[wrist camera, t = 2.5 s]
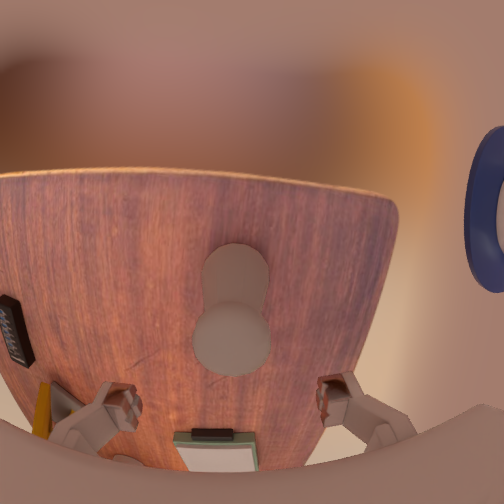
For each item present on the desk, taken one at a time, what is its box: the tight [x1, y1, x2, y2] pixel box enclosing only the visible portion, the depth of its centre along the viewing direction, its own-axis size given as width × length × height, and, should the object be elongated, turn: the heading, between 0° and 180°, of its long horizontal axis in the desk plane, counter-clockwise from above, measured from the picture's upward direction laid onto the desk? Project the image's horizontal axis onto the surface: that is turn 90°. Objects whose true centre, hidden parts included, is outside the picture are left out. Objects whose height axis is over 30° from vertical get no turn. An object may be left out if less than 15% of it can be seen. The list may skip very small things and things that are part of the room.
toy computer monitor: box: [32, 382, 85, 440], centre depth 25 cm, size 20×8×16 cm, turn 151°
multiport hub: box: [0, 294, 35, 368], centre depth 27 cm, size 4×11×2 cm, turn 170°
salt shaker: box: [192, 243, 271, 377], centre depth 19 cm, size 6×6×13 cm
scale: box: [173, 429, 259, 472], centre depth 34 cm, size 12×13×3 cm
